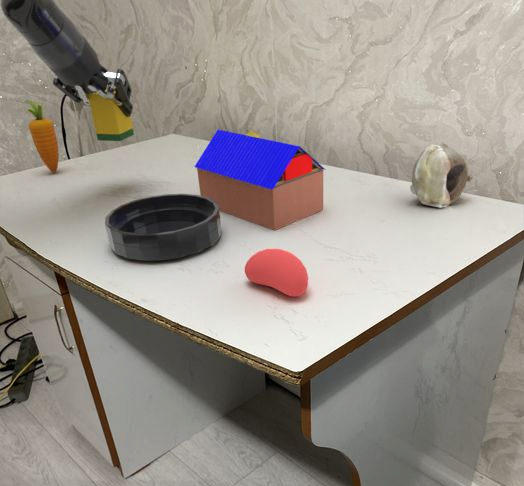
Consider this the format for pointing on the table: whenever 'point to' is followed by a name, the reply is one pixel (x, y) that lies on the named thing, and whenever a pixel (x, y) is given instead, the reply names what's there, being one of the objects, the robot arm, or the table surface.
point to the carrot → (44, 137)
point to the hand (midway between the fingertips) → (116, 112)
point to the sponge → (109, 119)
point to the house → (260, 179)
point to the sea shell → (439, 176)
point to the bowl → (163, 226)
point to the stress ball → (278, 271)
